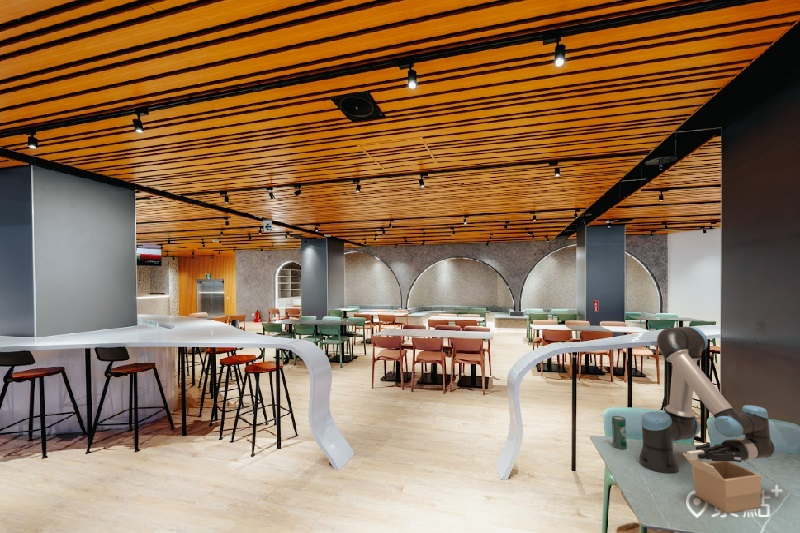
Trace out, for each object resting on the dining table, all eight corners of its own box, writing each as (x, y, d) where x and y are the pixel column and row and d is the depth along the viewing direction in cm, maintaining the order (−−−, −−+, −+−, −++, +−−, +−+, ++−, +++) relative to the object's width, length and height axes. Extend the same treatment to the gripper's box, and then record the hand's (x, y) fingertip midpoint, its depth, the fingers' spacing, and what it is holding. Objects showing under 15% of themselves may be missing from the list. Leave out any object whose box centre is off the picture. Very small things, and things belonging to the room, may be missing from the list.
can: (626, 450, 193) (625, 420, 194) (613, 448, 196) (611, 418, 197) (626, 446, 198) (625, 417, 199) (613, 443, 201) (612, 415, 202)
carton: (728, 514, 138) (726, 480, 139) (694, 495, 151) (692, 464, 152) (763, 508, 142) (761, 475, 142) (727, 490, 154) (725, 460, 155)
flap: (724, 479, 140) (723, 480, 140) (693, 465, 151) (693, 466, 151) (713, 466, 139) (712, 467, 139) (683, 453, 151) (682, 453, 150)
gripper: (757, 467, 142) (706, 474, 137) (722, 452, 155) (673, 458, 150) (756, 446, 142) (704, 453, 138) (720, 433, 155) (672, 439, 151)
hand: (688, 455), depth 144 cm, fingers closed
